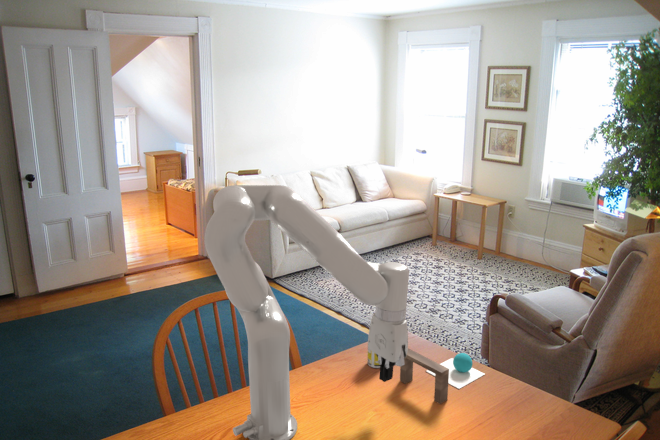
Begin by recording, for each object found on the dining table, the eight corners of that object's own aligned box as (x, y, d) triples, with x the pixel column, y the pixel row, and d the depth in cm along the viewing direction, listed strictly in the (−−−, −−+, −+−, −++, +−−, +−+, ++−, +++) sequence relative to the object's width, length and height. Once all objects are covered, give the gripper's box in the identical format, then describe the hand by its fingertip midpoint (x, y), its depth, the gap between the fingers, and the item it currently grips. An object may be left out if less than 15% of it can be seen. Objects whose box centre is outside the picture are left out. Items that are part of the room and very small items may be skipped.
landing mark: (458, 389, 145) (459, 388, 145) (425, 371, 154) (425, 370, 154) (485, 374, 152) (485, 373, 152) (451, 358, 161) (451, 357, 161)
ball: (471, 377, 152) (461, 373, 149) (456, 369, 157) (446, 365, 153) (478, 359, 153) (469, 355, 150) (463, 352, 157) (453, 348, 154)
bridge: (440, 404, 138) (441, 372, 136) (399, 380, 149) (400, 351, 147) (447, 399, 140) (449, 368, 137) (407, 377, 151) (408, 348, 148)
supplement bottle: (388, 362, 159) (389, 332, 157) (380, 370, 155) (381, 340, 152) (372, 357, 162) (373, 328, 159) (364, 365, 157) (364, 335, 155)
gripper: (359, 305, 133) (355, 371, 137) (402, 326, 122) (396, 397, 126) (380, 299, 138) (376, 362, 142) (423, 319, 126) (417, 387, 131)
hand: (385, 378), depth 134 cm, fingers closed
